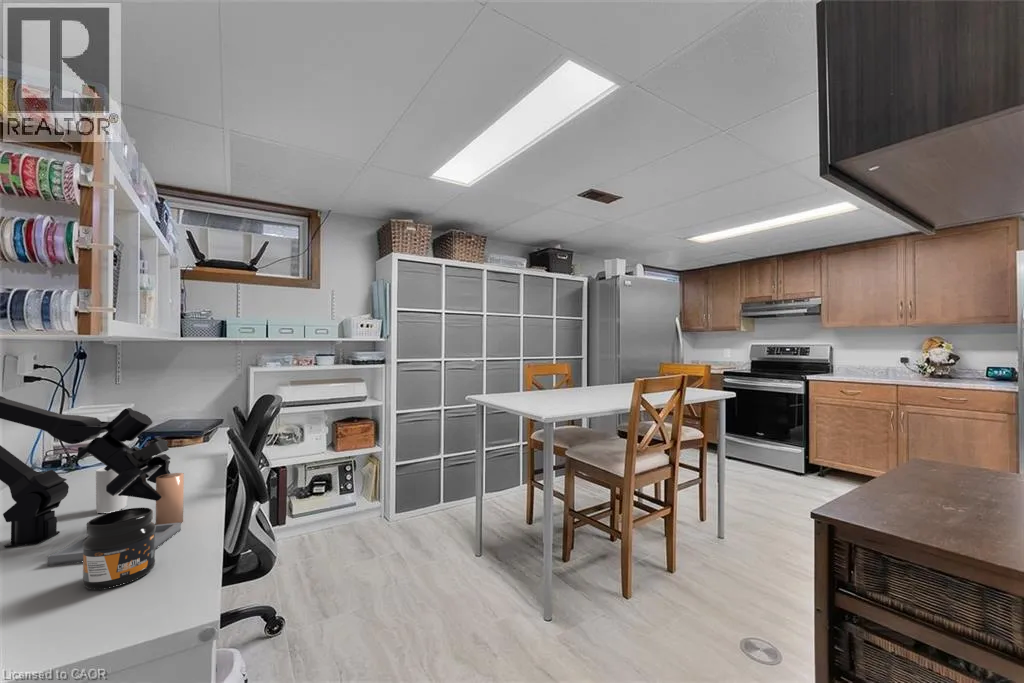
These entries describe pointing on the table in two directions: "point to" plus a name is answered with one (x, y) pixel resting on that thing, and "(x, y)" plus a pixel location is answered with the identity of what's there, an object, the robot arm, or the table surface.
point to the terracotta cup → (170, 498)
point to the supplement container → (118, 548)
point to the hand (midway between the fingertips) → (168, 493)
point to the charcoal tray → (75, 549)
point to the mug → (103, 498)
